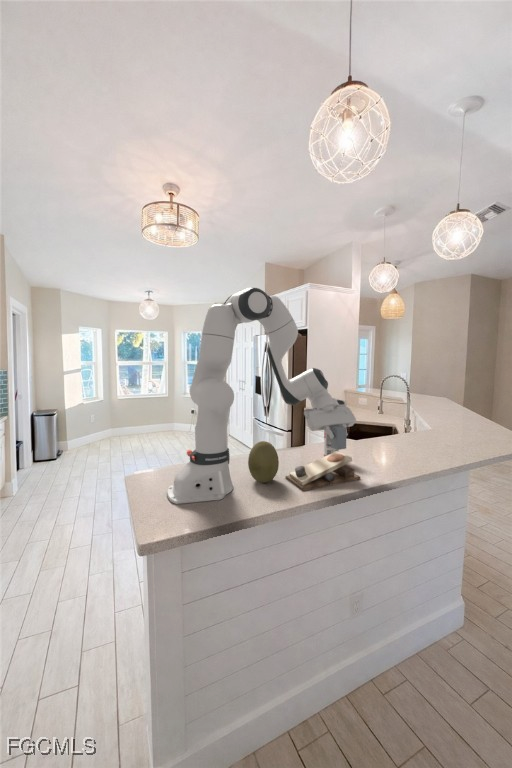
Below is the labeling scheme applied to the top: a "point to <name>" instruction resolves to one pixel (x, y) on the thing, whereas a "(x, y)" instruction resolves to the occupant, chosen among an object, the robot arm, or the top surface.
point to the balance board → (320, 467)
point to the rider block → (339, 437)
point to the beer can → (328, 445)
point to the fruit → (263, 462)
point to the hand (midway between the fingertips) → (339, 436)
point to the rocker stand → (328, 478)
